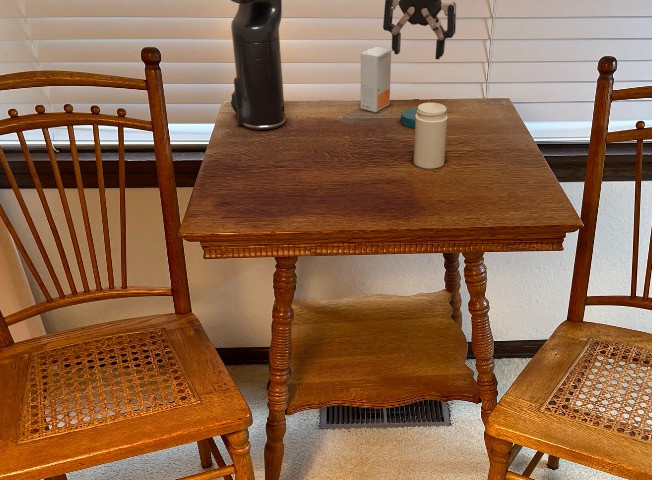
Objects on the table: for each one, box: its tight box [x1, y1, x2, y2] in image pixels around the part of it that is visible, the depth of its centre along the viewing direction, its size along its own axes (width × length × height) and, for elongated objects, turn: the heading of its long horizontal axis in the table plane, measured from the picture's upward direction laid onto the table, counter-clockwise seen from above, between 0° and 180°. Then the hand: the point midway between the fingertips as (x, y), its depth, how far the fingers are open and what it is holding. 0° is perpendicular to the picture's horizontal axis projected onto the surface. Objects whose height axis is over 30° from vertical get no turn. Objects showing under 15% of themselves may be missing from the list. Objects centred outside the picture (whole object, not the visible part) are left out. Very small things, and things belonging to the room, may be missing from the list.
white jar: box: [413, 102, 449, 170], centre depth 142 cm, size 6×6×11 cm
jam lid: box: [400, 107, 418, 129], centre depth 160 cm, size 7×7×2 cm
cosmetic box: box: [360, 46, 392, 113], centre depth 163 cm, size 6×4×12 cm
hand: (417, 55), depth 153 cm, fingers open, 8 cm apart
